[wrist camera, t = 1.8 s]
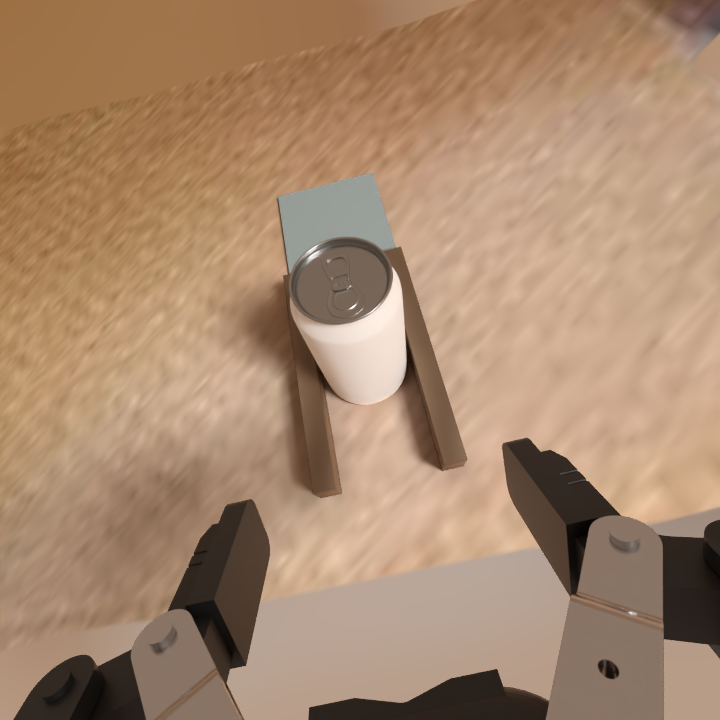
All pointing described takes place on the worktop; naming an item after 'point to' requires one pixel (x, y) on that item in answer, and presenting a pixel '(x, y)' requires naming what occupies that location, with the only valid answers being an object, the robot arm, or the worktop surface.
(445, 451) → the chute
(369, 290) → the can
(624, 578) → the robot arm
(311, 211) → the pad
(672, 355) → the worktop surface
